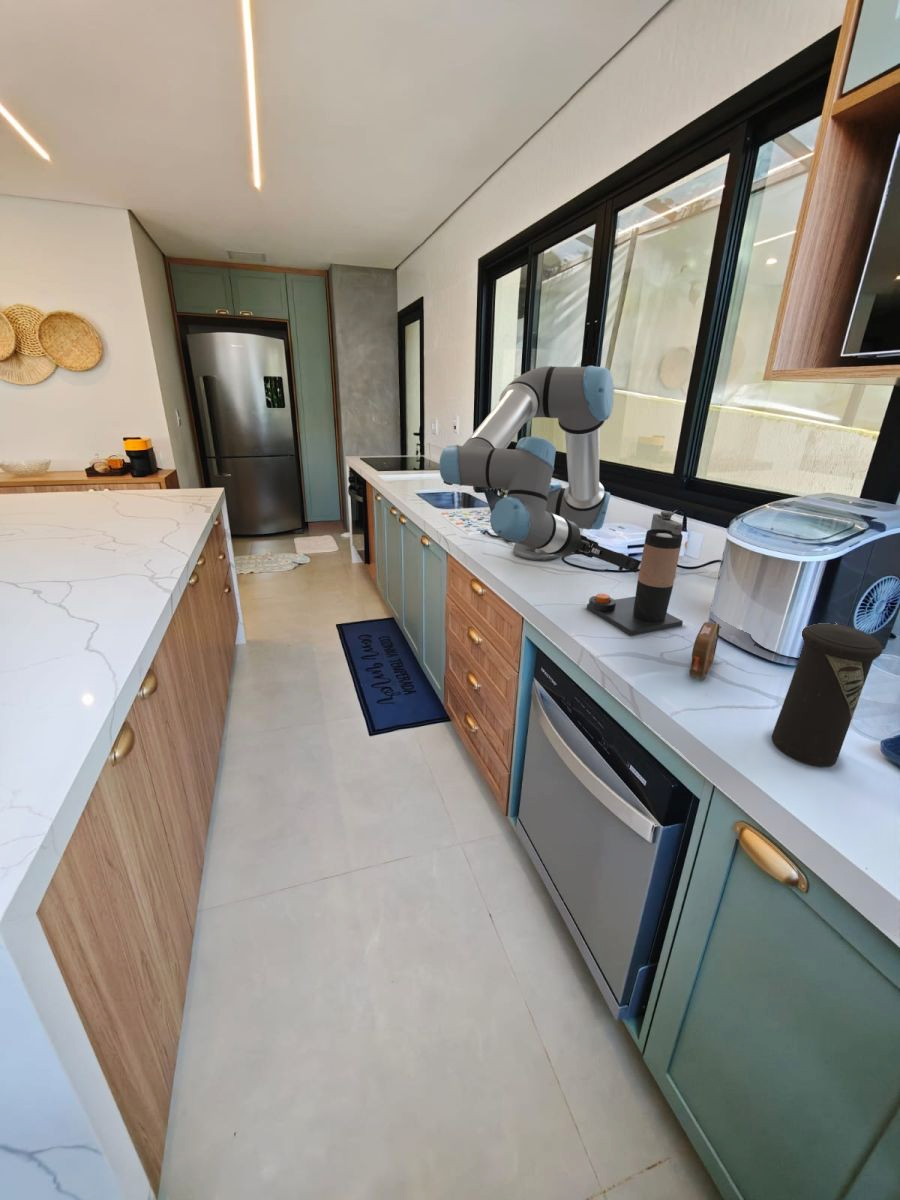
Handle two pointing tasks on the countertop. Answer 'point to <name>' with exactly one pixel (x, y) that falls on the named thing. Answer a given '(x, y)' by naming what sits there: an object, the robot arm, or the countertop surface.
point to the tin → (704, 650)
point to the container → (824, 692)
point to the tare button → (602, 598)
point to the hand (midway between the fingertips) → (612, 556)
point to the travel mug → (656, 574)
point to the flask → (666, 522)
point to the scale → (629, 616)
